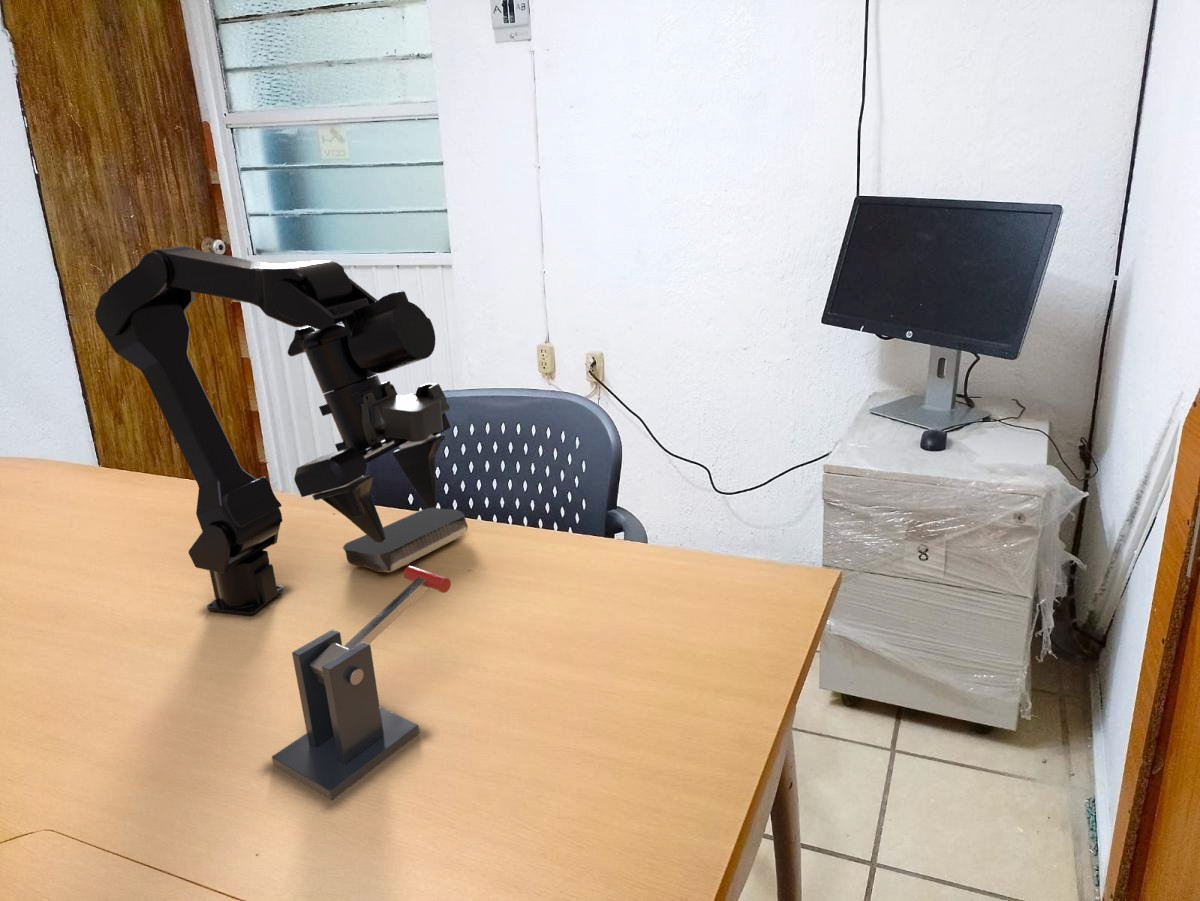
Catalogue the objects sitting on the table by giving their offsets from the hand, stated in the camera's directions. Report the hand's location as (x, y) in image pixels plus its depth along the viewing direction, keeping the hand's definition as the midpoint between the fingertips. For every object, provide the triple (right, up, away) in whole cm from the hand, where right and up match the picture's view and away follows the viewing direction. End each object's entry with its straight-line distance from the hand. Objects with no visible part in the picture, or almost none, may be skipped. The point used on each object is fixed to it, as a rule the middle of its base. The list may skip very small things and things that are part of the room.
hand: (408, 523), depth 87 cm
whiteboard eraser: (-6, -6, +26) cm, 27 cm away
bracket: (-3, -20, -12) cm, 23 cm away
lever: (0, -9, -11) cm, 14 cm away
